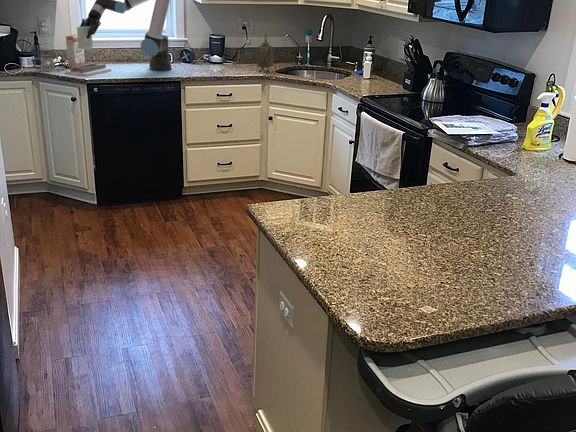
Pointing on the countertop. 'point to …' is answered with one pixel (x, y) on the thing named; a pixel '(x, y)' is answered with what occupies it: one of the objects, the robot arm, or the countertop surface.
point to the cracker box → (74, 51)
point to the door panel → (81, 34)
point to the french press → (43, 59)
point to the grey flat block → (88, 69)
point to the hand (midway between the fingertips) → (81, 41)
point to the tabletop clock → (265, 55)
